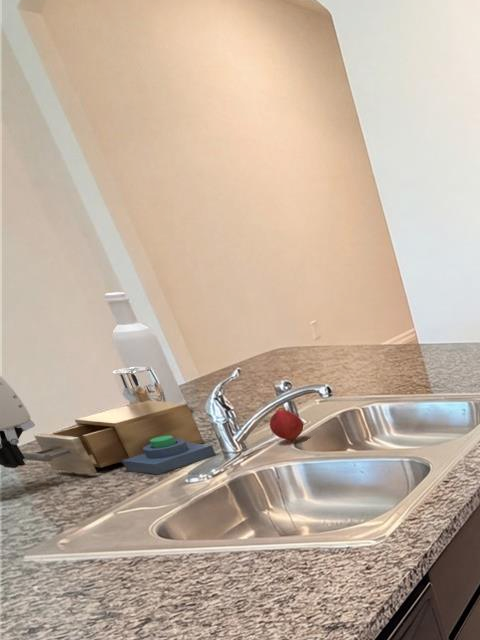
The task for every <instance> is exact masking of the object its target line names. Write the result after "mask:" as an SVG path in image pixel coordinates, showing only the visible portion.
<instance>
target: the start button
mask: <svg viewBox="0 0 480 640" xmlns="http://www.w3.org/2000/svg"><path fill="white" fill-rule="evenodd" d="M150 443H151V445H152V447H153V448H163V447H168V446H171V445H174V444H176V442H175V440H174V438H173V436H161V437H156V438H153V439H151V440H150Z"/></svg>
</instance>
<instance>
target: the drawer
mask: <svg viewBox="0 0 480 640" xmlns="http://www.w3.org/2000/svg"><path fill="white" fill-rule="evenodd" d="M33 437H34V438H35V440H36V442H37V444H38V446H39V447H40V449H41V450H37V451H34V452H28V451H25V452H22V454H23V456H24V458H25V459H24V460H25V461H26V460H27V461H35V462H44V463H49V465H50V467H51V469H52V470H53V471H62V472H68V473H75V474H77V473H78V474H85V475H92V474H95V473H97V470H96V468H105V467H108V466H111V465H113V464H114V465H115V464H119V463H118V462H121V461H122V460H126V459H129V456H128V454H127V452H126V450H125V448H124V446H123V444H122V442H121V440H120V438H119V436H118V434H117V432H116V429H115V427H112V426H102V425H91V424H83V425H80V426H77V425H76V426H73V427H68V428H65V429H61V430H57V431H54V432H53V431H52V434H48V433H38V434H34V435H33Z"/></svg>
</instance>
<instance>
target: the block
mask: <svg viewBox="0 0 480 640" xmlns="http://www.w3.org/2000/svg"><path fill="white" fill-rule="evenodd" d="M174 440H175V442H176V444H174V445H171V446H168V447H163V448H153V447H152V445H151V444H149V445H147V446H145V447H143V450H144V452H145V453H144V454H141V455H138V456H135V457H132V458H129V459H126V460H122V462H123V463H122V464H123V466H124V468H125V470H126V471H127V472H134V473H144V474H151V475H152V474H153V475H161V474H165V473H167V472H171V471H173V470H176V469H180V468H183V467H185V466H187V465H191V464H193V463H196V462H199V461H201V460H205V459H208V458H210V457H213V456H216V452H215V449H214V447H213V445H212V444H204V443H201V444H194V443H186V442H185V440H183V439H174Z"/></svg>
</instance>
